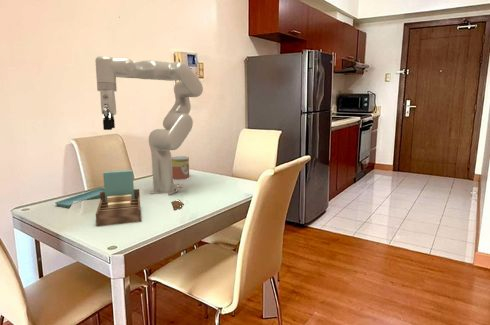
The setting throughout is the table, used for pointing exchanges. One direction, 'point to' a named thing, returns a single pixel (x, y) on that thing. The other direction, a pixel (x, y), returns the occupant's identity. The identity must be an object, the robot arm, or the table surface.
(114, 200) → the oak offcut
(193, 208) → the table surface
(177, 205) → the wooden fragment
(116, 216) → the rack
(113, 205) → the pine offcut
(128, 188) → the tall sheet
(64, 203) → the shallow long dish
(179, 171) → the canned food
